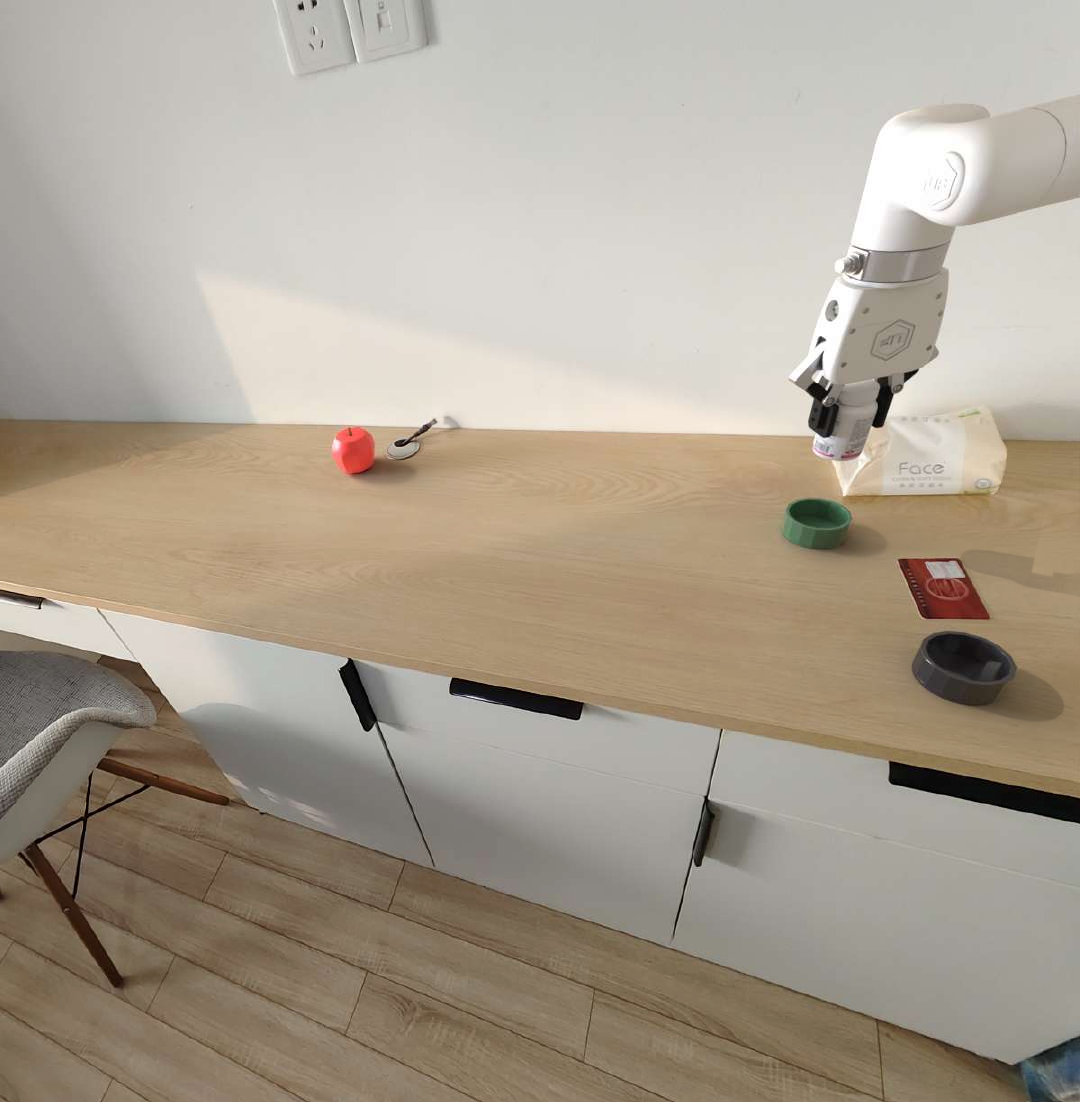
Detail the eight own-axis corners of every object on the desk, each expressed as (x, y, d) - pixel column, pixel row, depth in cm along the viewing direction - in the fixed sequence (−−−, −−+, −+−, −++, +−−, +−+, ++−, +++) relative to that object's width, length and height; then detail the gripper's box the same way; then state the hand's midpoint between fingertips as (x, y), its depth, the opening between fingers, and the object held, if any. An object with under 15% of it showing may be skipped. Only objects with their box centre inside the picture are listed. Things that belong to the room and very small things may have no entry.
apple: (384, 470, 116) (376, 430, 111) (341, 483, 115) (331, 443, 110) (372, 451, 122) (365, 412, 117) (331, 463, 121) (322, 424, 117)
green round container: (852, 525, 83) (858, 506, 81) (836, 555, 79) (843, 536, 77) (790, 511, 87) (795, 492, 85) (773, 539, 84) (778, 520, 82)
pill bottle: (859, 441, 76) (883, 375, 71) (862, 464, 73) (887, 396, 68) (810, 438, 79) (830, 373, 73) (811, 460, 76) (832, 394, 70)
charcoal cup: (1008, 669, 64) (1021, 648, 62) (996, 717, 60) (1010, 696, 58) (919, 642, 68) (929, 621, 66) (904, 685, 64) (914, 665, 63)
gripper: (826, 290, 61) (785, 458, 72) (1021, 249, 59) (949, 427, 70) (780, 269, 67) (749, 427, 78) (956, 231, 65) (899, 398, 76)
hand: (844, 425), depth 74 cm, fingers closed on pill bottle, 4 cm apart
